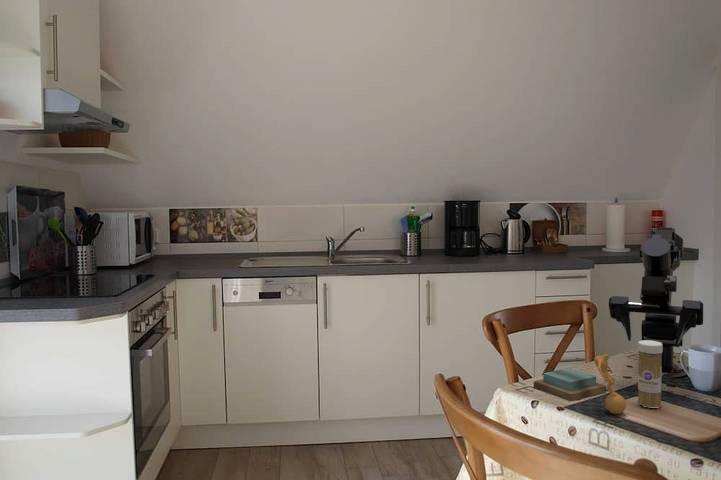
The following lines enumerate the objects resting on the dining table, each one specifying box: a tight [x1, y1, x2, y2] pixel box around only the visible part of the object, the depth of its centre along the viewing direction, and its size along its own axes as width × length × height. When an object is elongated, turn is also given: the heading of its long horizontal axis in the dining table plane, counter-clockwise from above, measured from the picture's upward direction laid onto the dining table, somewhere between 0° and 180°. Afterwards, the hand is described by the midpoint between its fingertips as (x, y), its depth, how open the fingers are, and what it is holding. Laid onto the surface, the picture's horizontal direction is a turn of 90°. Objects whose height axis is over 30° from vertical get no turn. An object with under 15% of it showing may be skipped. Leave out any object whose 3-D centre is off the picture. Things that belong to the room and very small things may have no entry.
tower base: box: [533, 368, 607, 402], centre depth 134 cm, size 11×11×4 cm
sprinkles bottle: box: [637, 339, 663, 408], centre depth 122 cm, size 5×5×13 cm
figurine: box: [593, 353, 627, 415], centre depth 119 cm, size 8×6×12 cm
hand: (652, 341), depth 127 cm, fingers open, 9 cm apart
